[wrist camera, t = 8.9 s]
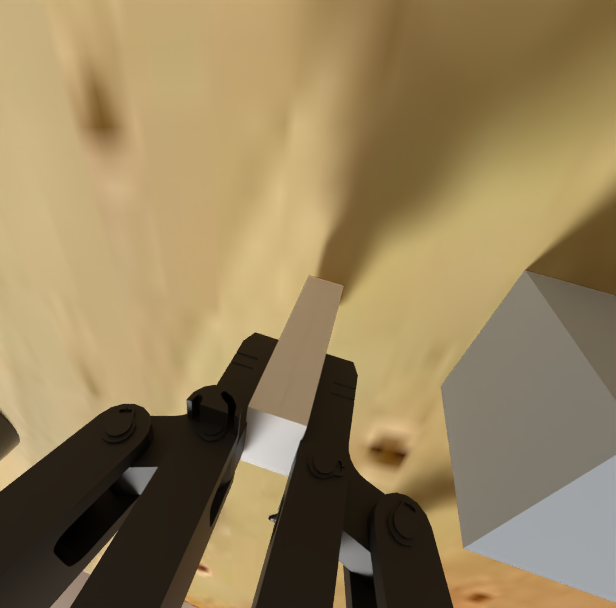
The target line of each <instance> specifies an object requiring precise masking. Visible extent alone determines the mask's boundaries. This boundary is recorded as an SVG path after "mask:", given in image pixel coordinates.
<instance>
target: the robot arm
mask: <svg viewBox="0 0 616 608" xmlns="http://www.w3.org/2000/svg"><path fill="white" fill-rule="evenodd" d="M343 287H344V285H340V284H337V283H333V282H330V281H327V280H323V279H320V278H316V277H313V276H310V275H309V276H308V278H307V280H306V283H305V285H304V287H303V289H302V291H301V293H300V296H299V298H298V300H297V302H296V304H295V306H294V308H293V311H292V313H291V315H290V317H289V319H288V321H287V323H286V326H285V328H284V330H283V332H282V334H281V336H280V339H279V340H278V339H274V338H271V337H268V336H265V335H262V334H258V333H254V334H252V335H251V336H249V337H248V338H247V339H245V340H244V341H243V342H242V344H241V346H240V347H239V349H238V351H237V353H236V354H235V356H234V357H233V359H232V361H231V363H230V364H229V366H228V367H227V369H226V371H225V372H224V374H223V376H222V377H221V379H220V381H219V382H218V384H217V385H211V386H205V387H203V388H201V389H199V390H197V391H195V392H193V393H192V394H191V395H190V397H189V398H188V399H187V414H185V415H180V416H150V414H149V413H148V412H147V411H146V410H145V409H144V408H143V407H141V406H138V405H136V404H121V405H118V406H114V407H111V408H109V409H108V410H106V411H104V412H103V413H101V414H99V415H98V416H97V417H95V418H94V419H93V420H92V421H90V422H89V423H88V424H86V425H85V426H84V427H83V428H81V429H80V430H79V431H77V432H76V433H75V434H74V435H72V436H71V437H70V438H68V439H67V440H66V441H65V442H63V443H62V444H61V445H60V446H58V447H57V448H56V449H54V450H53V451H52V452H51V453H49V454H48V455H47V456H45V457H44V458H43V459H42V460H40V461H39V462H38V463H36V464H35V465H34V466H33V467H31V468H30V469H29V470H27V471H26V472H25V473H24V474H22V475H21V476H20V477H18V478H17V479H16V480H15V481H13V482H12V483H11V484H9V485H8V486H7V487H6V488H4V489H3V490H2V491H0V608H50V607H51V605H52V604H53V603H54V602H55V601H56V600H57V599H58V598H59V597H60V596H61V594H62V593H63V592H64V591H65V590H66V589H67V588H68V586H69V585H70V584H71V583H72V582H73V581H74V580H75V579H76V577H77V576H78V575H79V574H80V573H81V572H82V571H83V570H84V568H85V567H86V566H87V565H88V564H89V563H90V562H91V560H92V559H93V558H94V557H95V556H96V555H97V554H98V553H99V551H100V550H101V549H102V548H103V547H104V546H105V545H106V544H107V542H108V541H109V540H110V539H111V538H112V537H113V536H114V534H115V533H116V532H117V531H118V532H117V533H116V535H115V537H114V538H113V540H112V541H111V543H110V545H109V546H108V548H107V549H106V551H105V553H104V554H103V556H102V557H101V559H100V561H99V562H98V564H97V565H96V567H95V569H94V570H93V572H92V573H91V575H90V577H89V578H88V580H87V581H86V583H85V585H84V586H83V588H82V590H81V591H80V593H79V594H78V596H77V598H76V599H75V601H74V602H73V604H72V605H71V607H70V608H181V607H182V604H183V602H184V600H185V597H186V595H187V592H188V590H189V587H190V585H191V583H192V580H193V578H194V575H195V573H196V570H197V568H198V566H199V563H200V561H201V558H202V556H203V553H204V551H205V548H206V546H207V544H208V541H209V539H210V536H211V534H212V531H213V529H214V527H215V524H216V522H217V519H218V517H219V514H220V512H221V510H222V507H223V505H224V502H225V500H226V497H227V495H228V493H229V490H230V488H231V485H232V483H233V479H234V474H235V470H236V467H237V465H238V463H239V460H240V458H241V460H242V461H244V462H247V463H250V464H253V465H256V466H259V467H262V468H265V469H268V470H271V471H273V472H276V473H279V474H282V475H285V476H288V480H287V484H286V488H285V491H284V494H283V497H282V500H281V503H280V505H279V508H278V510H279V511H278V514H277V518H276V521H275V525H274V528H273V532H272V536H271V539H270V543H269V546H268V550H267V553H266V557H265V561H264V564H263V568H262V571H261V575H260V578H259V582H258V586H257V589H256V593H255V596H254V600H253V603H252V607H251V608H333V602H334V594H335V586H336V578H337V569H338V561H340V562H341V563H342V564H343V568H344V582H345V595H346V608H453V604H452V601H451V597H450V593H449V590H448V586H447V582H446V579H445V575H444V571H443V568H442V564H441V560H440V557H439V553H438V549H437V546H436V542H435V538H434V534H433V531H432V527H431V525H430V523H429V520H428V518H427V515H426V514H425V512H424V511H423V510H422V509H421V507H420V506H419V505H418V503H416V502H415V501H414V500H412V499H411V498H409V497H408V496H406V495H403V494H399V493H391V494H386V495H385V494H384V493H383V492H381V491H380V490H379V489H377V488H376V487H375V486H373V485H372V484H371V483H369V482H368V481H366V480H365V479H364V478H363V477H362V476H361V475H360V474H359V473H358V471H357V470H356V469H355V467H354V465H353V463H352V461H351V459H350V455H349V438H350V430H351V423H352V415H353V407H354V400H355V392H356V391H355V390H356V385H357V377H358V375H357V372H356V369H355V366H354V363H353V362H351V361H348V360H344V359H341V358H338V357H335V356H332V355H328V354H326V352H327V348H328V344H329V341H330V337H331V333H332V329H333V325H334V322H335V318H336V314H337V310H338V306H339V303H340V299H341V295H342V291H343ZM19 442H20V439H19V435H18V433H17V431H16V430H15V428H14V427H13V426H12V425H11V423H10V422H9V421H8V420H7V419H6V418H5V417H4V416H3V415H2V414H1V413H0V461H1V460H2V459H3V458H4V457H5V456H6V455H7V454H8V453H9V452H11V451H12V450H13V449H14V448H15V447H16V446H17V445H18V444H19ZM241 455H242V456H241Z"/></svg>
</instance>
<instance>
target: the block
mask: <svg viewBox="0 0 616 608" xmlns="http://www.w3.org/2000/svg"><path fill="white" fill-rule="evenodd" d="M441 392H442V399H443V406H444V414H445V421H446V428H447V435H448V442H449V449H450V456H451V464H452V471H453V478H454V485H455V492H456V499H457V506H458V514H459V521H460V528H461V535H462V542H463V549H466V550H469V551H472V552H475V553H478V554H480V555H483V556H486V557H489V558H492V559H494V560H497V561H500V562H503V563H506V564H508V565H511V566H514V567H517V568H520V569H522V570H525V571H528V572H531V573H534V574H537V575H539V576H542V577H545V578H548V579H551V580H553V581H556V582H559V583H562V584H565V585H567V586H570V587H573V588H576V589H579V590H582V591H584V592H587V593H590V594H593V595H596V596H598V597H601V598H604V599H607V600H610V601H612V602H615V603H616V295H612V294H609V293H605V292H602V291H598V290H595V289H591V288H587V287H584V286H580V285H577V284H573V283H570V282H566V281H562V280H559V279H555V278H552V277H548V276H544V275H541V274H537V273H534V272H530V271H527V270H525V271H524V272H523V273H522V275H521V276H520V278H519V279H518V280H517V282H516V283H515V285H514V286H513V287H512V289H511V290H510V291H509V293H508V294H507V296H506V297H505V298H504V300H503V301H502V302H501V304H500V305H499V307H498V308H497V309H496V311H495V312H494V314H493V315H492V316H491V318H490V319H489V320H488V322H487V323H486V325H485V326H484V327H483V329H482V330H481V331H480V333H479V334H478V336H477V337H476V338H475V340H474V341H473V343H472V344H471V345H470V347H469V348H468V349H467V351H466V352H465V354H464V355H463V356H462V358H461V359H460V360H459V362H458V363H457V365H456V366H455V367H454V369H453V370H452V372H451V373H450V374H449V376H448V377H447V378H446V380H445V381H444V383H443V384H442V385H441Z"/></svg>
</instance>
